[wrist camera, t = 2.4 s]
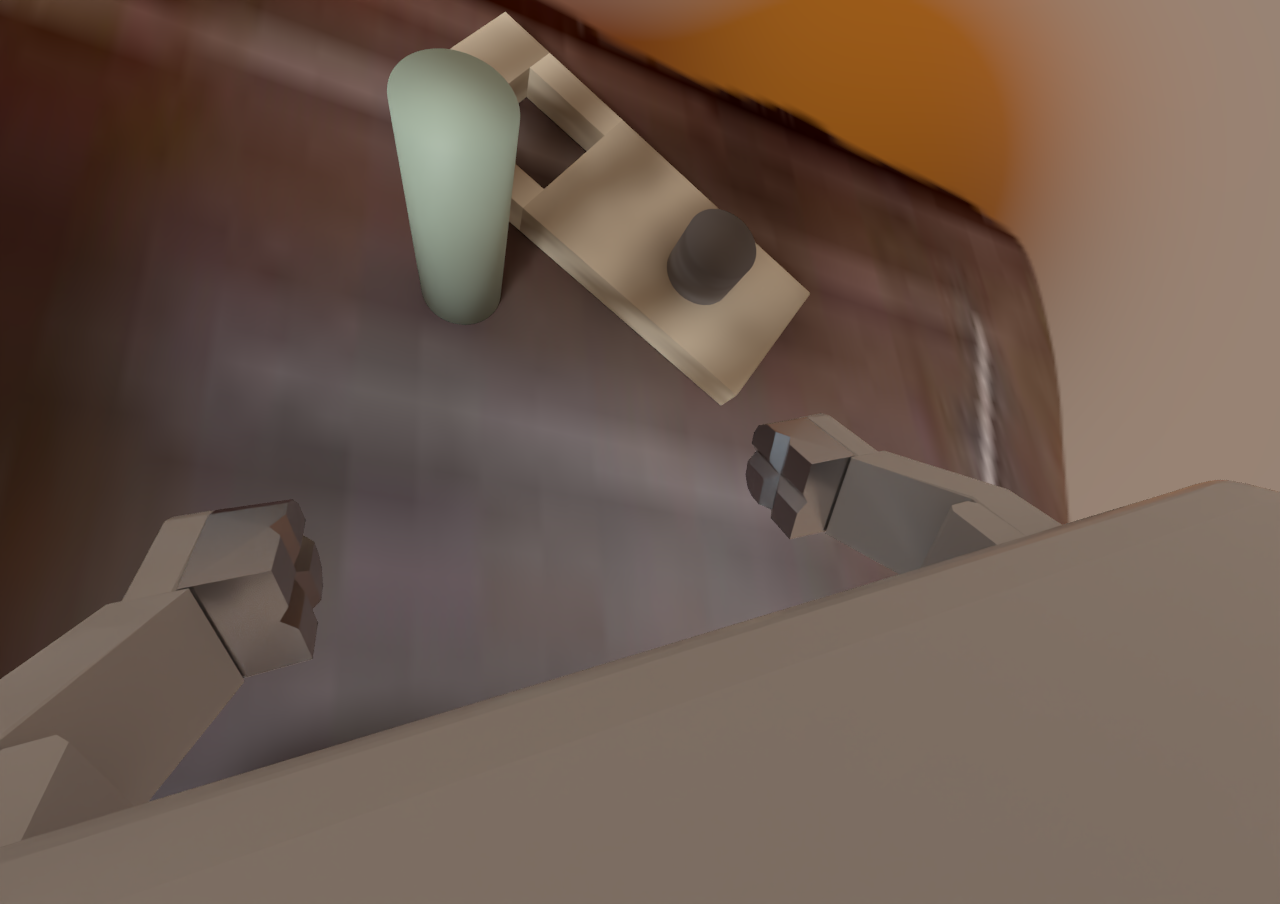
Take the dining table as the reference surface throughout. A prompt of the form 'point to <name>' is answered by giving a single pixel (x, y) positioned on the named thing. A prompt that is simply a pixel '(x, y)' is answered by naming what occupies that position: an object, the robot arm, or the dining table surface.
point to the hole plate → (641, 229)
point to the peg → (456, 175)
